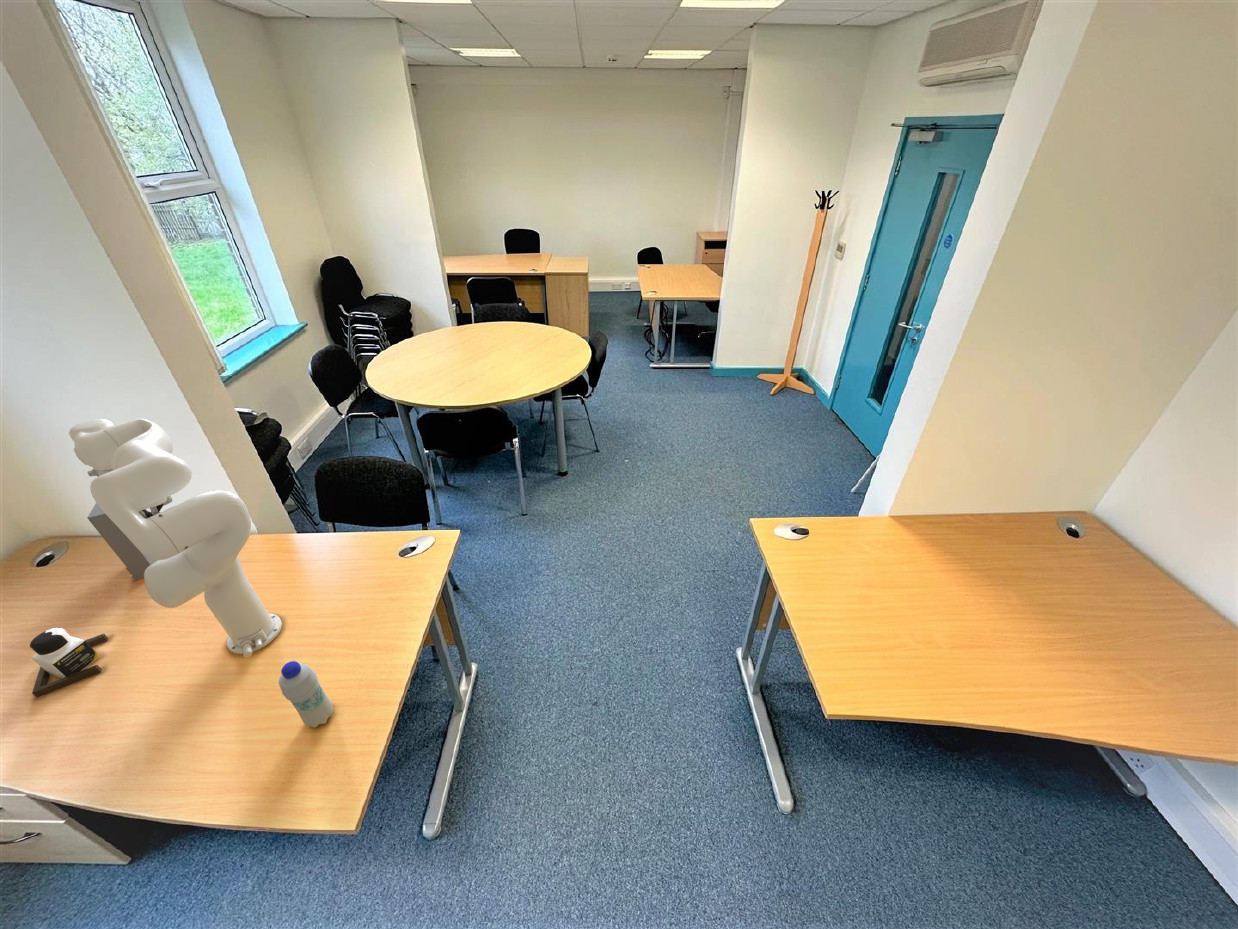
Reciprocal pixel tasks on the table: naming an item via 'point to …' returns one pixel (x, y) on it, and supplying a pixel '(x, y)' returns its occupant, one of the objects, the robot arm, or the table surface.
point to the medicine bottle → (62, 652)
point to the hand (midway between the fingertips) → (159, 525)
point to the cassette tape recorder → (120, 543)
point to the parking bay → (43, 676)
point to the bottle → (305, 693)
